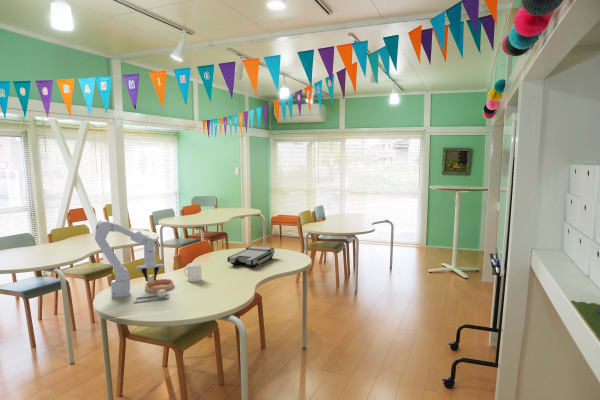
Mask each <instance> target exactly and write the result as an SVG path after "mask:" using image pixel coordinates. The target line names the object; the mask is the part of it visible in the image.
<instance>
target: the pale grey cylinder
mask: <svg viewBox="0 0 600 400" xmlns="http://www.w3.org/2000/svg"><path fill="white" fill-rule="evenodd" d="M156 293H157V295H158V299H160V298H165V297H166V296H165V294H166V291H165V290H164V289H161V290H158V291H157V292H156Z"/></svg>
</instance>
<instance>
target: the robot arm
mask: <svg viewBox="0 0 600 400" xmlns="http://www.w3.org/2000/svg"><path fill="white" fill-rule="evenodd" d="M110 232H111V233H113V232H118V233H120V234H122V235H125V236H127V237H129V238H130V241H133V242H134V243H136V244H139V245H141V246H142V245H143V255H144V264H143V265H137V266H136V271H141V273H142V275H143V276H144V279H145V281H146V282H147V276H148V270H149V269H153V271H154V272H153V273H154V274H153V275H154V276H155V277H154V280H155V281H156V280H157V276H158V275H157V274H158V272H159V270H160V268H162V269H164V263H156V253H155V251H156V250H155V247H156V242H155V240H154V239H153V238H152V237H150V236H149V235H147V234H143V233H142V232H141V231H140V230H138V231H137V230H134V231H132V230H130V229H128V228H127V227H124V226H122V225H120V224H118V223H116V222H114V221H111V220H110V221H109V220H107V219H106V218H105V219H100V220H99V221H98V222H97V224H96V226H95V235H94V241H95V242H96V243H97V245H98V247H99V248H100V251H102V253H103V254H104V257H105V258H106V259H107V260H108V262H109V263H110V265H111V267H112V268H113V270H114V274H115V276H116V277H115V279H113V280H111V283H110V289H111V298H119V297H129V296H131V295H132V293H133V291H132V290H131V281H130V280H131V279H130V271H129V270H128V269H127V267H126V266H124V265H123V264H122V263H121V262H120V259H119V258H118V257H117V255H116V254H115V251H113V248H112V247H111V246H110V245H109V243H108V241H107V236H108V235H109V233H110Z"/></svg>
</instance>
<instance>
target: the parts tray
mask: <svg viewBox="0 0 600 400" xmlns="http://www.w3.org/2000/svg"><path fill="white" fill-rule="evenodd" d="M169 295H170V293H165V296H166V297H165V298H160V299H158V294H154V295H144V296H138V297H134V301H133V304H138V303H146V302H157V301H164V300H165V301H167V300H169Z"/></svg>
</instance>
